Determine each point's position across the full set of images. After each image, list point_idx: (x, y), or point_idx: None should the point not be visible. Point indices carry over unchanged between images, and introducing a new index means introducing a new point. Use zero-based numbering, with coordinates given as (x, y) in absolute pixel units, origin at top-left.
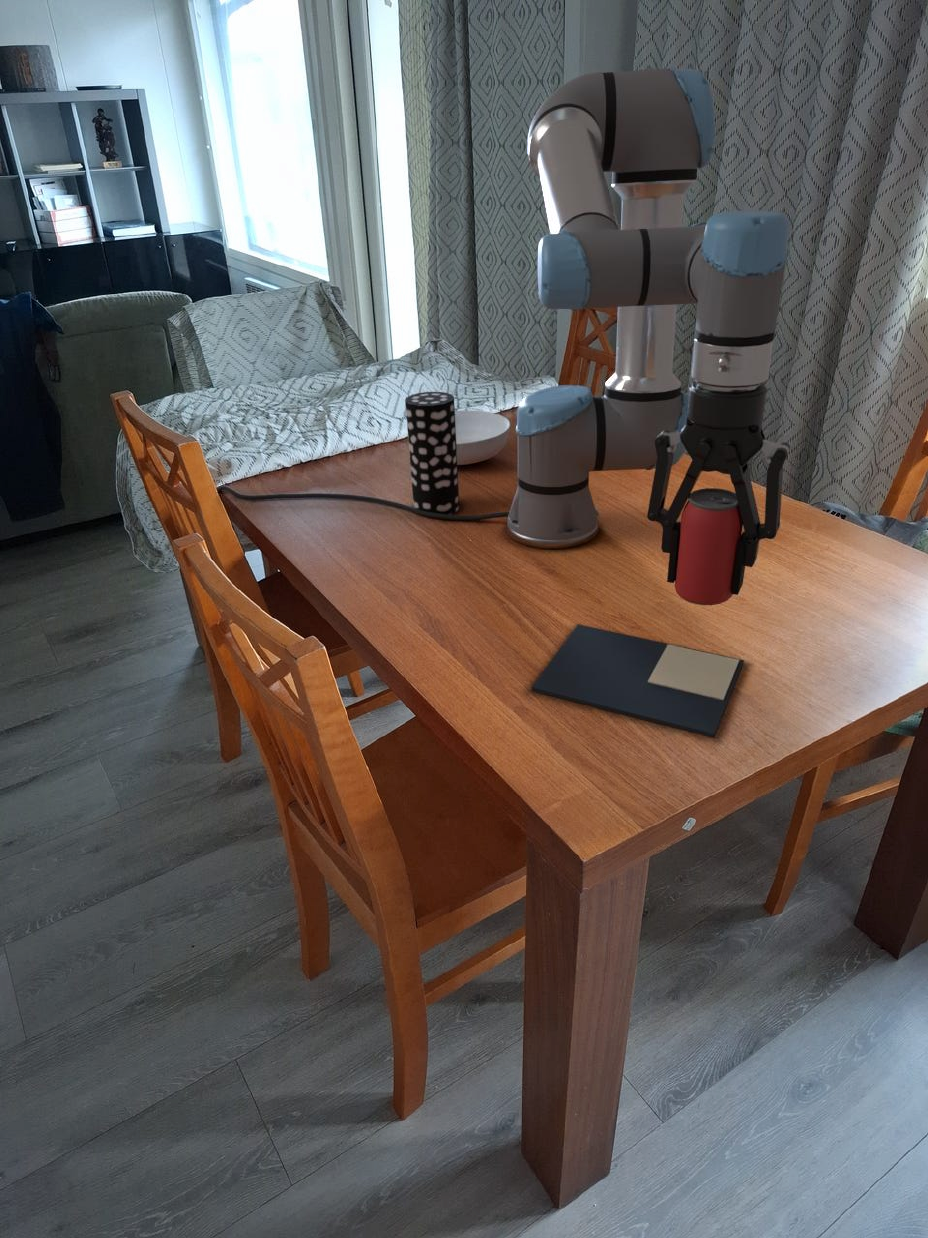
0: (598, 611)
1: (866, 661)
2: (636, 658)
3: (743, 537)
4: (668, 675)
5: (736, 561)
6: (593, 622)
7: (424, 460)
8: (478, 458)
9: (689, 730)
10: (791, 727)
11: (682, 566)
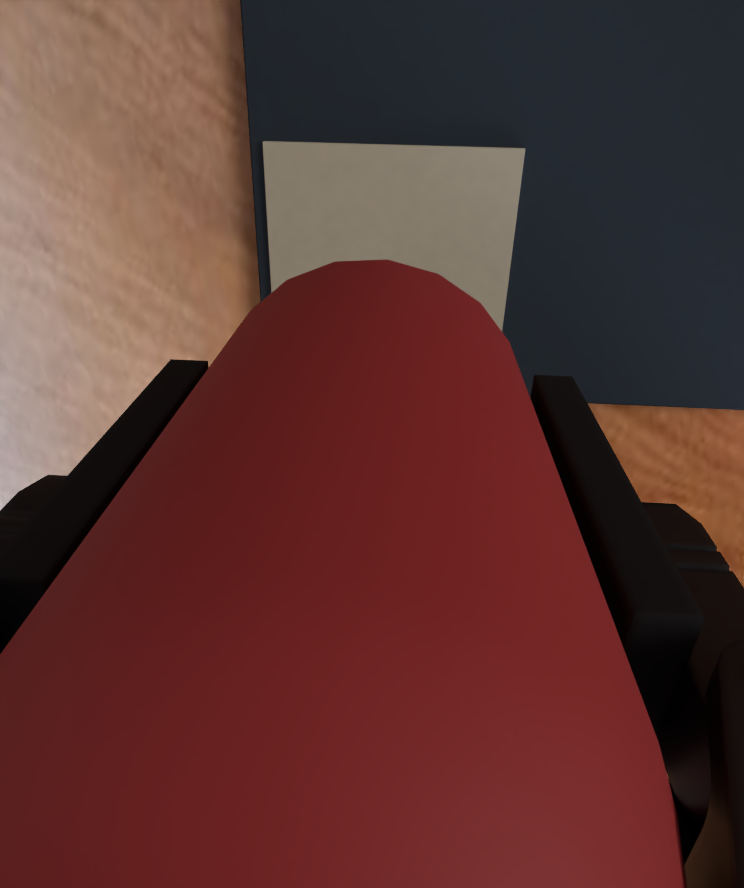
0: (727, 509)
1: (2, 494)
2: (582, 282)
3: None
4: (462, 214)
5: (121, 468)
6: (740, 450)
7: None
8: None
9: None
10: (46, 99)
11: (504, 379)
